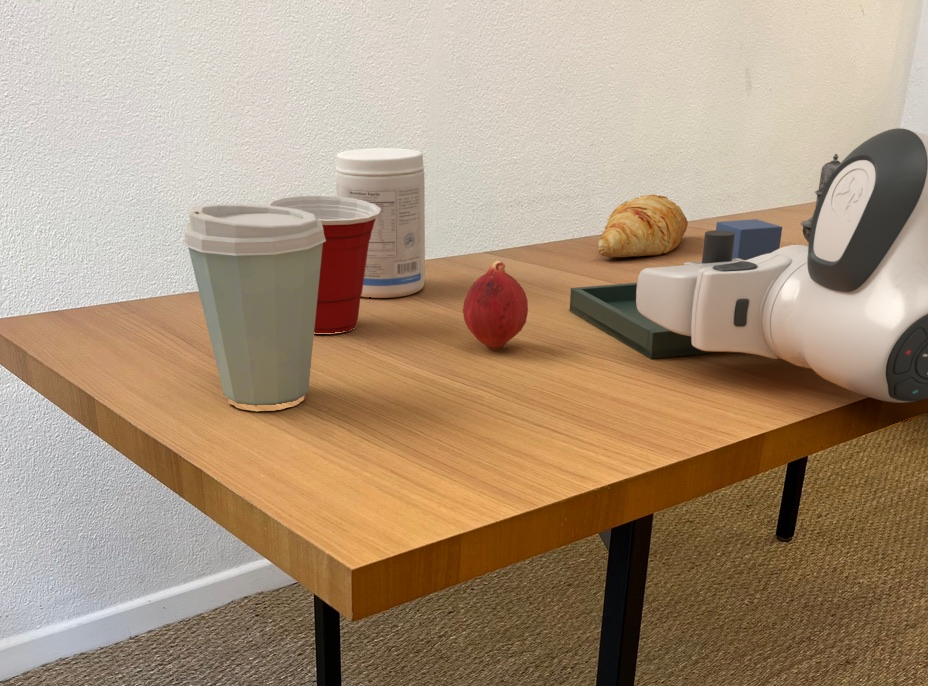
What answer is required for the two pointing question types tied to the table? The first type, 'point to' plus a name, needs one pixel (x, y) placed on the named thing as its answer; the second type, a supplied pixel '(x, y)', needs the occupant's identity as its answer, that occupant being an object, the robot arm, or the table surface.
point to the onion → (495, 307)
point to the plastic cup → (338, 256)
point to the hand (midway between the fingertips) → (708, 269)
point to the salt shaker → (820, 191)
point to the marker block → (752, 237)
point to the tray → (623, 320)
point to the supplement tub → (389, 216)
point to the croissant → (643, 228)
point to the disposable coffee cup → (258, 296)
